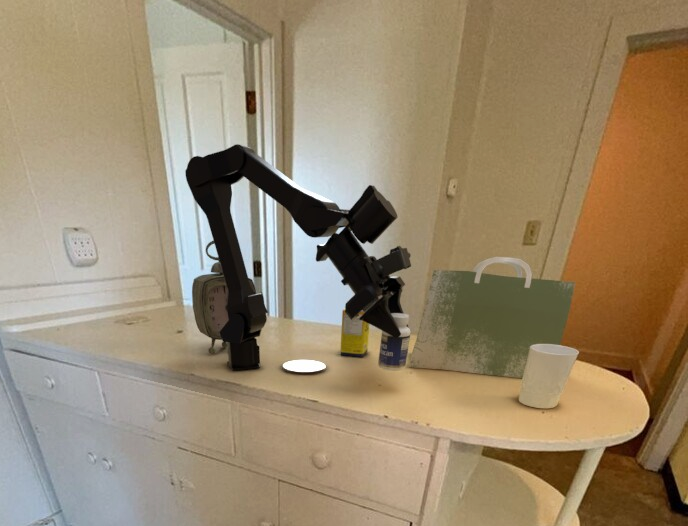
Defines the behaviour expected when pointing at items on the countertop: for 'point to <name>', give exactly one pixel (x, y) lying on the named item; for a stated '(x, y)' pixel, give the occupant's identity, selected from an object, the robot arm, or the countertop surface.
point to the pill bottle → (395, 345)
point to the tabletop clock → (211, 301)
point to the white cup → (546, 374)
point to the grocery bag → (489, 319)
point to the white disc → (304, 367)
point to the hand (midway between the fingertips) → (403, 333)
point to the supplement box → (354, 335)
